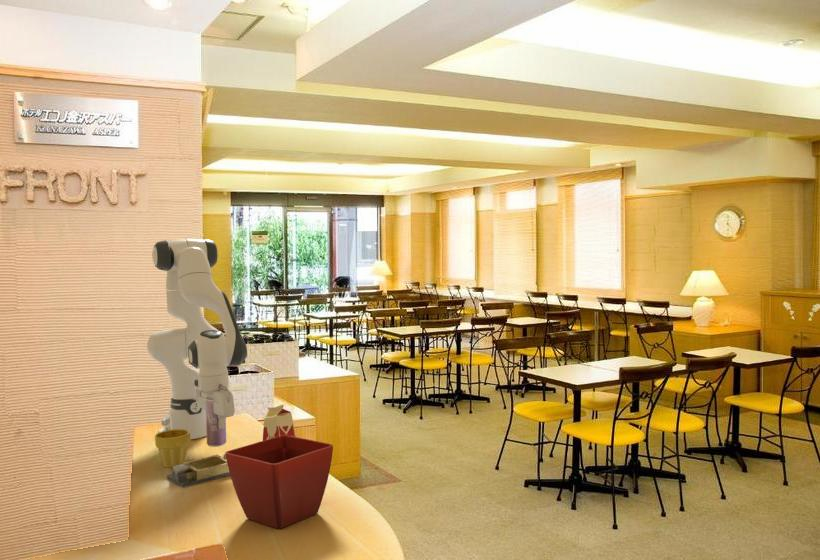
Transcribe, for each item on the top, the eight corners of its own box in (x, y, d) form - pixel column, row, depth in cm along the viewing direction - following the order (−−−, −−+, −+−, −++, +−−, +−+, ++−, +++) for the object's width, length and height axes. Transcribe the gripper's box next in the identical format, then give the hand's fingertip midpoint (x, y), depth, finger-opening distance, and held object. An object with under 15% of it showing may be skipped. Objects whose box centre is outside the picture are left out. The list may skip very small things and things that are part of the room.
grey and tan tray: (167, 478, 201) (166, 462, 201) (233, 461, 214) (232, 446, 214) (183, 487, 192) (182, 470, 192) (251, 469, 206) (250, 453, 205)
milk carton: (302, 469, 204) (299, 402, 203) (277, 477, 198) (273, 408, 197) (284, 463, 211) (281, 398, 210) (259, 471, 204) (255, 404, 203)
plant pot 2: (287, 496, 182) (284, 433, 181) (338, 511, 169) (335, 444, 169) (226, 520, 167) (223, 451, 166) (277, 538, 155) (274, 464, 154)
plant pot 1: (191, 466, 211) (189, 435, 211) (155, 471, 208) (153, 439, 208) (191, 457, 221) (190, 427, 221) (157, 461, 218) (155, 431, 218)
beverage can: (229, 441, 219) (227, 395, 218) (222, 447, 213) (220, 400, 212) (211, 441, 220) (209, 395, 218) (203, 447, 214) (202, 399, 212)
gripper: (238, 385, 209) (240, 430, 210) (209, 376, 224) (211, 418, 225) (219, 389, 205) (221, 434, 206) (191, 379, 220) (193, 421, 221)
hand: (216, 426), depth 216 cm, fingers closed on beverage can, 5 cm apart
